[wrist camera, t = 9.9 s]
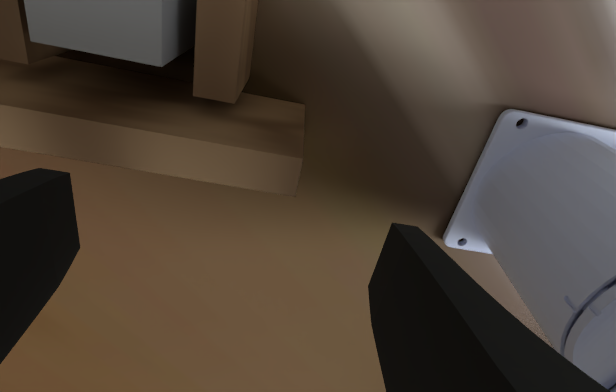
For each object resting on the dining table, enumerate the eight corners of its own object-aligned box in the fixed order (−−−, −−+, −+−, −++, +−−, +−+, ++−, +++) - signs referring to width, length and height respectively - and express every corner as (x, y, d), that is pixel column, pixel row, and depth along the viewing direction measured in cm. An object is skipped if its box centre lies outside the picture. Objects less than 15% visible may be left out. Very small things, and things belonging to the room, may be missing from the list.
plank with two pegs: (327, -9, 15) (336, 2, 10) (299, 134, 19) (295, 197, 13) (-41, -91, 14) (-242, -126, 9) (-5, 77, 17) (-139, 123, 12)
